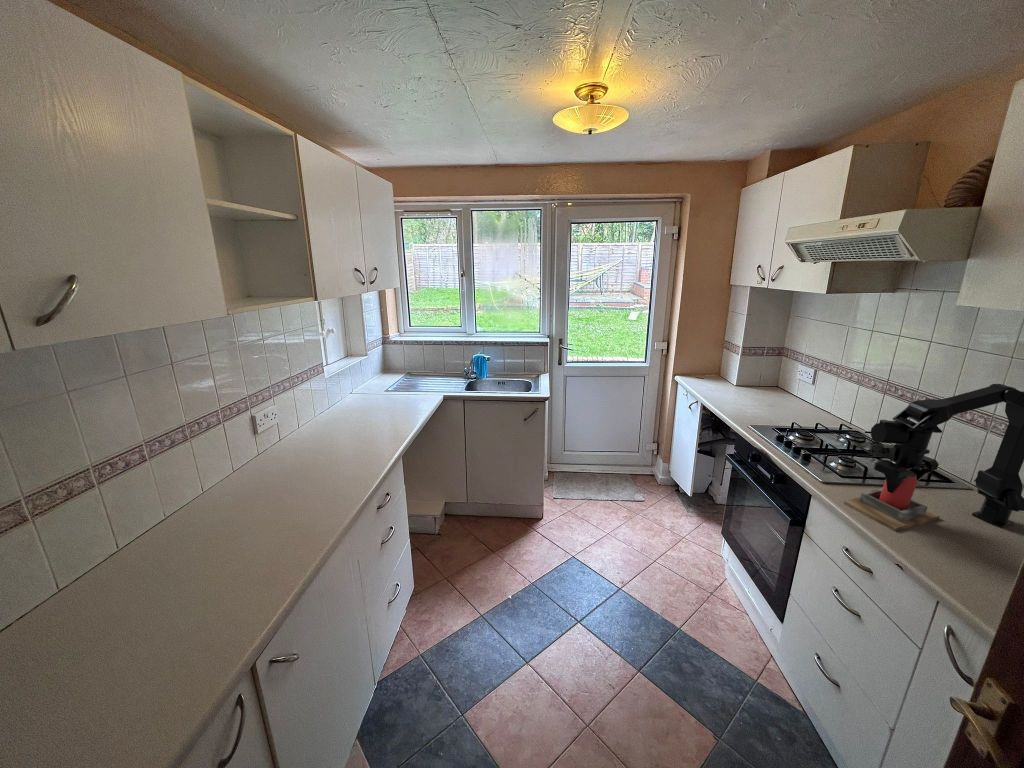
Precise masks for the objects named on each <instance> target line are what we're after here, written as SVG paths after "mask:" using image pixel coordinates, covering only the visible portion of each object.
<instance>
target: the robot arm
mask: <svg viewBox="0 0 1024 768" xmlns="http://www.w3.org/2000/svg"><path fill="white" fill-rule="evenodd" d="M1000 403H1005V408H1004V409H1005V410H1004V412H1005V413H1004V414H1005V415H1006V418H1007V421H1008V425H1007V427H1006V429H1005V433H1004V435H1003V438H1002V440H1001V442H1000V446H999V448H998V451H997V453H996V456H995V458H994V461H993V464H992V466H991V467H989V468H987V469H985V470H982V469H979V471H977V475H976V477H975V479H974V480H973V482H975V487H976V488H977V494H979V495H981V496H982V497H984V500H983V502H982V503H981V507H980V509H979V510H978V511H975V512H972V513H971V515H972V516H973V517H976V518H978V519H980V520H983V521H985V522H987V523H990V524H992V525H995V526H996V527H999V528H1004V527H1006V526H1007V527H1008V526H1010V525H1013V524H1014V521H1012V520H1010V517H1011V515H1012V513H1013V512H1019V511H1020V512H1021V511H1024V497H1023V496H1022V492H1023V487H1024V485H1023V482H1022V479H1021V477H1020V471H1021V469H1022V466H1023V463H1024V390H1023V391H1021V390H1018V389H1017V388H1016V387H1013V386H1009V385H1006V384H1003V383H991V384H989V385H988V386H986V387H981V388H979V389H975V390H971V391H968V392H963V393H961V394H957V395H954V396H951V397H950V396H949V397H946V398H941V399H940V398H939V399H938V398H936V399H933V398H932V399H929V398H928V399H921V400H914V401H912V402H909V403H908V406H906V407H905V408H904V409H902V410H901V411H900V412H899V413H897V414H896V415H894V416H893V417H892V420H887V419H880V420H879V422H878V423H875V424H874V425H873V426H872V427H871V428H870V436H871V439H872V440H873V441H874V442H875V443H874V444H872V446H870V449H869V451H870V453H871V454H872V455H873V456H874V457H885V458H888V459H885V460H880V461H877V462H875V463H874V465H873V468H872V469H873V470H874V471H877V472H879V473H881V474H883V475H884V476H885V480H886V483H887V491H888V492H890V493H893V492H894V491H895V490H896V489H897V488H898V487H899V486H900V485H901V484H902V483H903V482H904V481H905V480H906V479H907V478H908V477H906V476H905V475H906V474H907V470H910V471H912V472H914V473H915V474H916V475H917V477H916V478H917V482H919V481H920V480H922V479H923V478H925V477H926V476H927V475H928V474H930V473H932V471H936V470H938V467H939V465H940V463H939V462H938V461H937V460H936V459H934V458H931V457H929V456H926V455H928V454H930V452H931V450H930V449H928V446H929V443H930V441H931V439H932V436H933V433H934V434H942V433H943V430H942V429H941V428H940V427H939V425H941V424H943V423H946V422H949V421H950V420H951V418H953V417H954V416H956V415H959V414H964V413H966V412H969V411H974V410H978V409H983V408H985V407H989V406H992V405H997V404H1000ZM914 421H915V422H914ZM878 443H880V444H878ZM926 467H928V469H927V468H926Z"/></svg>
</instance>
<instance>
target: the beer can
mask: <svg viewBox="0 0 1024 768" xmlns="http://www.w3.org/2000/svg"><path fill="white" fill-rule="evenodd" d="M905 476H906V477H908V478H907V479H906V480H905V481H904V482H903V483H902V484H901V485H900V486H899V487H898V488H897V489H896V490H895V491H894V492H893V493H890V492H888V491H887V483H886V479H885V480H884V483H883V486H882V488H883V489H882V492H881V495H880V498H879V500H880V501H882V502H884V503H887V504H889V505H891V506H893V507H895V508H897V509H899V510H901V511H903V510H907V509H908V506H909V504H910V501H911V499H912V498H913V495H914V492H915V489H916V487H917V484H918V481H917V478H916V477H917V475H916V474H915V473H914V472H912V471H910V470H907V474H906V475H905Z"/></svg>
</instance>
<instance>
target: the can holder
mask: <svg viewBox="0 0 1024 768" xmlns="http://www.w3.org/2000/svg"><path fill="white" fill-rule="evenodd" d="M882 489H883V487H881V488H878V489H872V490H869V491H865V492H864V491H863V492H861V493H860V494H861V495H860V496H859V497H855V498H851V499H847V500H846V499H845V500H844V501H843V505H845V506H847V507H849V508H851V509H853V510H855V511H856V512H857V513H860V514H862V515H864V516H866V517H868V518H870V519H872V520H873V521H875V522H877V523H879V524H881V525H883V526H885V527H886V528H888V529H890V530H892V531H894V532H897V531H900V530H901V531H902V530H904V529H908V528H911V527H914V526H917V525H922V524H925V523H928V522H932V521H935V520H939V519H940V517H941V515H939V514H937V513H935V512H933V511H931V510H929V509H928V508H929V507H928V506H926V505H924V504H922V503H920V502H918V501H915V500H913V499H912V498H911V501H910V504H909V506H908V509H907V510H903V511H901V510H899V509H897V508H895V507H893V506H891V505H889V504H887V503H884V502H882V501H880V500H879V498H880V495H881V492H882Z"/></svg>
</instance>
